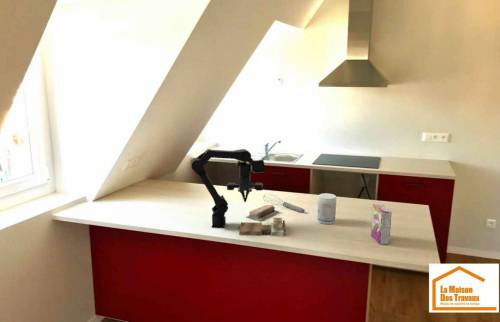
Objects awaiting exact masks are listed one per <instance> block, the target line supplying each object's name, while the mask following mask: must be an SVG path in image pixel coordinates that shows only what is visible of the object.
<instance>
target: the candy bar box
mask: <svg viewBox="0 0 500 322" xmlns="http://www.w3.org/2000/svg"><path fill="white" fill-rule="evenodd" d="M371 209H372V212H371V227H370V236H371V237H372V238H373V239H374V240H375V241H376V242H377V244H378V245H381V246H384V245H390V241H391V238H390V237H391V228H392V227H391V224H392V210H390V209H389V208H388V207H386V206H385V205H383V204H382V203H374V204H372V207H371Z"/></svg>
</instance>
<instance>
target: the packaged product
mask: <svg viewBox="0 0 500 322" xmlns="http://www.w3.org/2000/svg"><path fill="white" fill-rule="evenodd" d="M275 208H276V207H275V206H274V205H273V204H265V205H263V206H261V207H258V208H256V209H253V210H250V211H249V214H248V215H246V219H250V220H253V221H256V222H258V223H261V222H262V221H264V220H265V221H266V220H267V219H268V218H271V217H273V216H276V215H277V214H279V210H276V209H275Z"/></svg>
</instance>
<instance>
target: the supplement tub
mask: <svg viewBox="0 0 500 322" xmlns="http://www.w3.org/2000/svg"><path fill="white" fill-rule="evenodd" d="M317 199H318V200H317V222H318V223H320V224H323V225H331V224H335V222H336V213H337V212H336V211H337V209H336V208H337V196H336V195H335V194H333V193H327V192H325V193H320V194H319V195H318V198H317Z"/></svg>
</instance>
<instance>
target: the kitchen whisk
mask: <svg viewBox="0 0 500 322" xmlns="http://www.w3.org/2000/svg"><path fill="white" fill-rule="evenodd" d="M270 196H272V197H273V198H277V195H275V194H274V193H272V192H270ZM273 198H272V201H274V203H272V202H270V201H269V200H271V197H268V196H267V195H263V198H262V199H263V200H264V202H265V203H267V202H269V203H271V204H272V205H273V206H274V205H277V203H275V202H278V203H279V206H283V207H284V208H287V209H289V210H290V209H291V210H294V211H296V212H297V213H300V214H301V213H302V214H305V212H306V210H305V209H304V208H302V207H299V206H297V205H294V204H291V203H289V202H286V201H283V200H282V199H281V197H280V198H279V197H278V198H277V200H276V199H273ZM268 199H269V200H268Z"/></svg>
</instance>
